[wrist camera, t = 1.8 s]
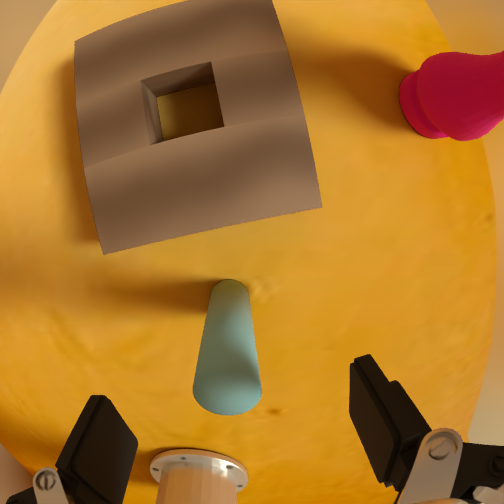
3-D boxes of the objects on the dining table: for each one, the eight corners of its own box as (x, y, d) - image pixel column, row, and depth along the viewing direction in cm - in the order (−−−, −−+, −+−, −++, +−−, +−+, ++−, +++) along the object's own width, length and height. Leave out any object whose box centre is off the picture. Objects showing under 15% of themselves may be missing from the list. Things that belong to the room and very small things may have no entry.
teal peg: (252, 310, 22) (267, 409, 12) (215, 317, 22) (204, 418, 12) (244, 275, 22) (254, 360, 11) (206, 283, 22) (183, 372, 11)
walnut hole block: (306, 202, 21) (322, 207, 17) (124, 242, 20) (103, 254, 16) (262, 16, 17) (267, -11, 13) (96, 58, 16) (74, 41, 13)
